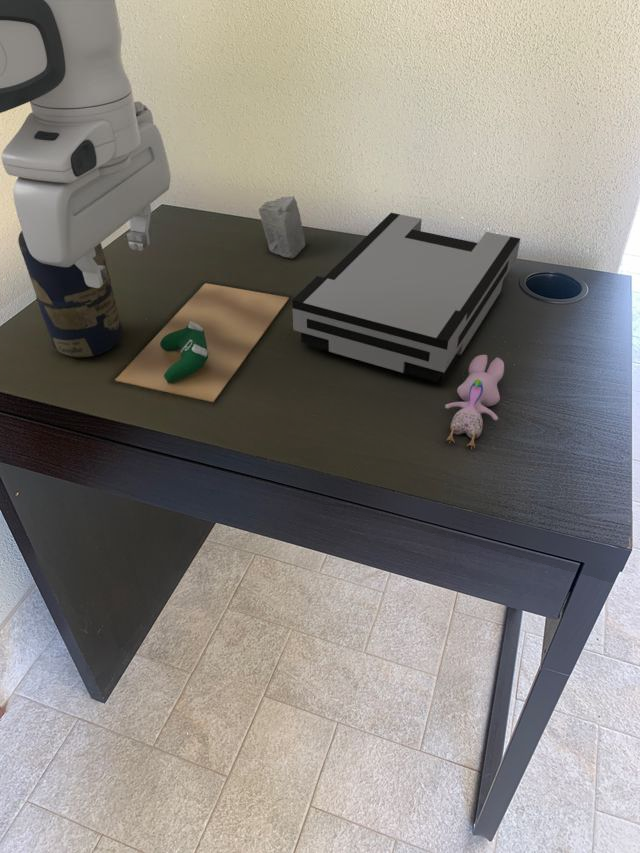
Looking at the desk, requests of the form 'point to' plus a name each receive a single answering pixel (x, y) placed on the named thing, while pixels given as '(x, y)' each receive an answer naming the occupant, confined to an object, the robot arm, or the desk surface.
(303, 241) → the mineral specimen
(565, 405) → the desk surface
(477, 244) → the game console
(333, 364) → the desk surface
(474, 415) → the rabbit figure
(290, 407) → the desk surface
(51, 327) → the canister
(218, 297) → the cork mat
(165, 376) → the gaming controller
